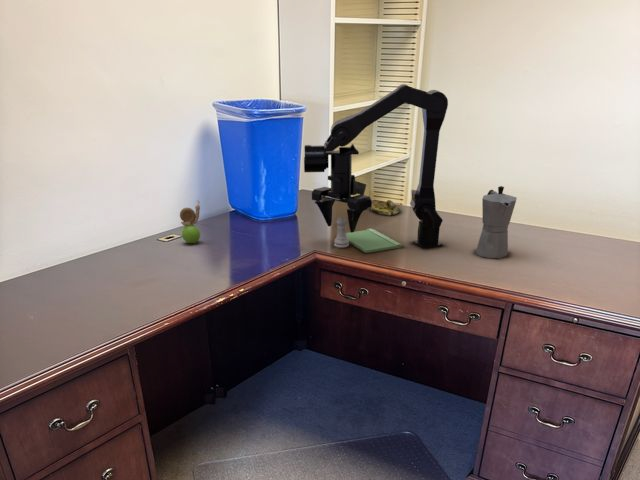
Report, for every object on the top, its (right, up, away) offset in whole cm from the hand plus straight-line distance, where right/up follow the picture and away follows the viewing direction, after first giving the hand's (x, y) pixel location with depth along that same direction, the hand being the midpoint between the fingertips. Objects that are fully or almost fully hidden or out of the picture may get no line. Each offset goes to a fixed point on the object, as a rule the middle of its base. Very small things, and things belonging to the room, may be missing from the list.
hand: (340, 229), depth 173 cm
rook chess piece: (0, -4, +3) cm, 5 cm away
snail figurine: (-44, -2, +8) cm, 45 cm away
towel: (+9, -2, +6) cm, 11 cm away
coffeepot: (+42, -8, -4) cm, 43 cm away
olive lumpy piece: (+17, +18, +36) cm, 44 cm away
